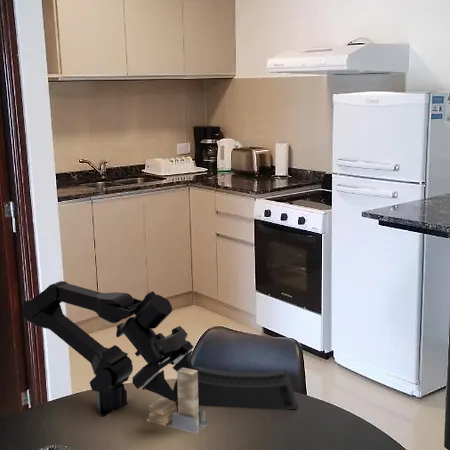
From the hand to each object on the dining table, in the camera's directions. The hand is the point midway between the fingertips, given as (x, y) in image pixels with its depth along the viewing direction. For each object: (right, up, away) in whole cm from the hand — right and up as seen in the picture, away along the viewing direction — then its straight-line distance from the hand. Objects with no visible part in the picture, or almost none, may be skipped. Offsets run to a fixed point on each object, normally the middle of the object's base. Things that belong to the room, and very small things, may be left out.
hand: (187, 392), depth 149 cm
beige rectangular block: (0, -8, +1) cm, 8 cm away
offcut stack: (-6, -8, +5) cm, 11 cm away
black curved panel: (+11, -7, +11) cm, 17 cm away
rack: (0, -9, +2) cm, 9 cm away
